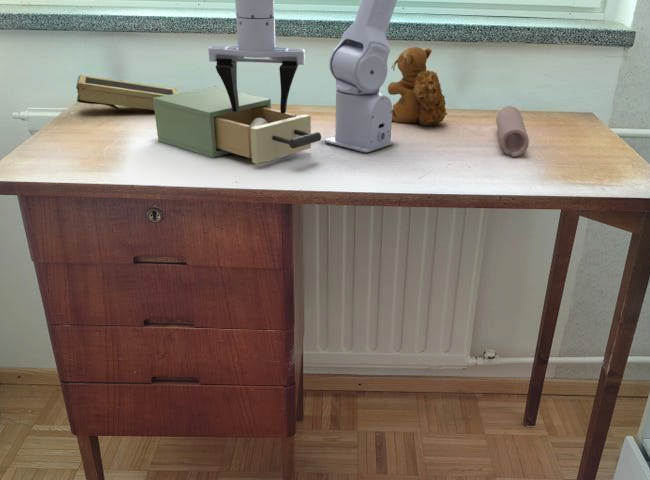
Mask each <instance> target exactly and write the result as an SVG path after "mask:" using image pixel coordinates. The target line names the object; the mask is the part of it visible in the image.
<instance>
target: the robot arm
mask: <svg viewBox="0 0 650 480" xmlns="http://www.w3.org/2000/svg"><path fill="white" fill-rule="evenodd" d="M234 1H235V4H234V5H235V18H236V19H235V20H236V35H237V36H236V37H237V45H210V46H209V47H208V48H207V49H208V59H209V62H212V63H213V62H214V63H216V65H215V69H216V72H217V73H218V76H219V77H220V79H221V82H222V84H223V85H224V89H226V90H227V93H228V96H229V99H230V102H231V106H232V111H233V112H237V110H238V109H239V101H238V92H239V91H238V76H237V75H238V74H237V73H238V71H237V68H238V65H237V64H238V63H240V62H241V63H265V64H267V63H268V64H281V65H280V66H279V67H278V69H279V81H280V102H279V103H280V105H279V108H280V110H279V111H281V113H285V112H287V106H288V98H289V94H290V90H291V86H292V83H293V80H294V78H295V76H296V75H295V74H296V72H297V70H298V67H299V66H300V65H301V66H304V65H305V64H306V50H305V48H291V47H280V46H276V18H275V17H276V15H275V0H234ZM397 1H398V0H360V3H359V6H358V9H357V12H356V16H355V19H354V21H353V23H352V24H351V25H350V26H349V27H348V28H347V29H346V30H345V31H344V32H343V33H342V35H341V39H340V41H339V43H338V44H337V46H336V47H335V48H334V49H333V50H332V52H331V54H330V56H329V62H328V63H329V64H328V65H329V71H330V73H331V76H332V77H333V78H334V79H335V122H334V123H335V124H334V125H335V127H334V128H335V129H334V131H335V132H334V133H335V134H334V136H332V137H328V138H325V139H324V143H327V144H331V145H334V146H338V147H341V148H346V149H350V150H354V151H357V152H361V153H365V154H367V153H370V152H374V151H376V150H379V149H382V148H386V147H388V146H391V145H394V141H393V140H391V139H392V123H393V121H392V110H393V104H392V101H391V99H390V97H388V96H386V95H384V94H382V93H381V92H380V88H381V87H382V86H383V85H384V83H385V81H386V80H387V76H388V59H389V55H390V52H391V47H390V45H389V41H388V39H387V31H388V28H389V26H390V22H391V19H392V16H393V14H394V11H395V8H396V6H397Z"/></svg>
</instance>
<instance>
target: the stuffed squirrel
mask: <svg viewBox="0 0 650 480" xmlns="http://www.w3.org/2000/svg"><path fill="white" fill-rule="evenodd" d="M432 52H433V50H432V49H431V48H430V47H429V48H425V49H423V48H421V47H418V46H410V47H408V48H406V49H405V50H403V51H402V52H401V53H400V54H399V55H398V57H397V59H396V60H395V61H394V62H393V63H392V65H391V69H392V71H393V72H395V67H396V66H397V68H398V70H399V71H400V73H401V76H402V77H401V79H400V80H399V81H393V82H392V81H391V82H390V83H389V84H388V86H387V93H388V95H391V96H396V95H400V97H399V99H398V101H397V102H396V103H394V104H392V122H396V123H404V124H407V123H408V124H415V123H418V124H419V125H421V126H427V127H428V126H432V125H433V126H434V125H439V124H440V123H441V122H443V121H444V119H445V117H446V116H447V115H448V114H449V113H447V111H446V110H447V109H446V99H445V95H444V94H443V92H442V91H443V89H442V88H441V82H440V80H439V76H438V73H437V72H435V71H433V70H429V69H427V60H428V59H429V58H430V56H431V54H432Z"/></svg>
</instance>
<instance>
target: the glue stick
mask: <svg viewBox="0 0 650 480" xmlns="http://www.w3.org/2000/svg"><path fill="white" fill-rule="evenodd" d="M264 124H268V123H267V121H266V120H264V119H262V118H256V119H255V120H253V122H252V123H251V125H250V126H251V128H252V127H256V126H260V125H264Z"/></svg>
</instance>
